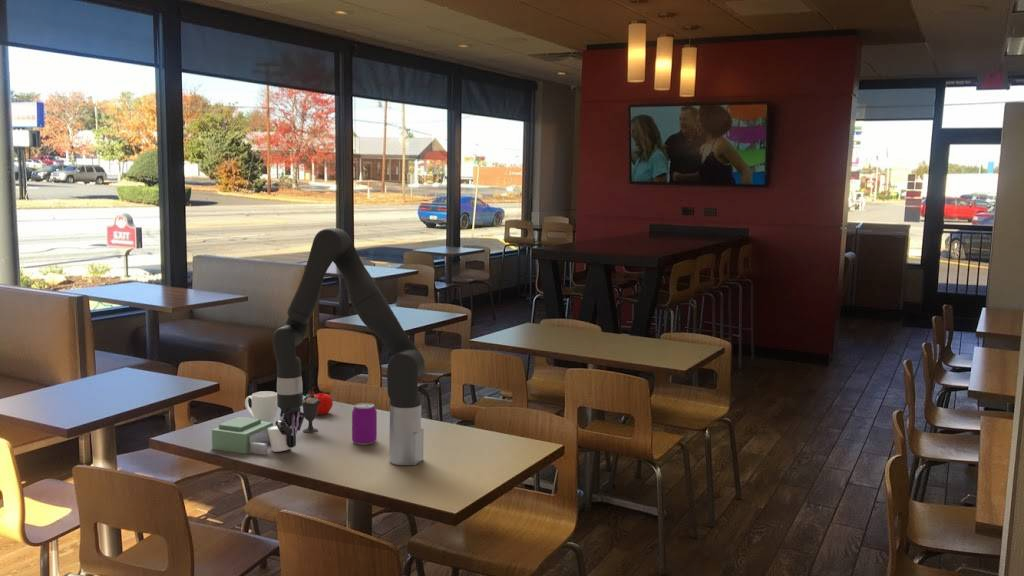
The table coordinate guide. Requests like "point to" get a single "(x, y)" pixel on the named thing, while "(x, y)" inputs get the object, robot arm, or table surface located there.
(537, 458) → the table surface
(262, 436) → the chute bracket
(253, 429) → the green drawer box
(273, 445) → the white cup
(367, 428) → the beverage can
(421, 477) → the table surface
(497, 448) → the table surface
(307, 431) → the sundae
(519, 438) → the table surface
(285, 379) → the robot arm
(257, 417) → the mug
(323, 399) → the apple
